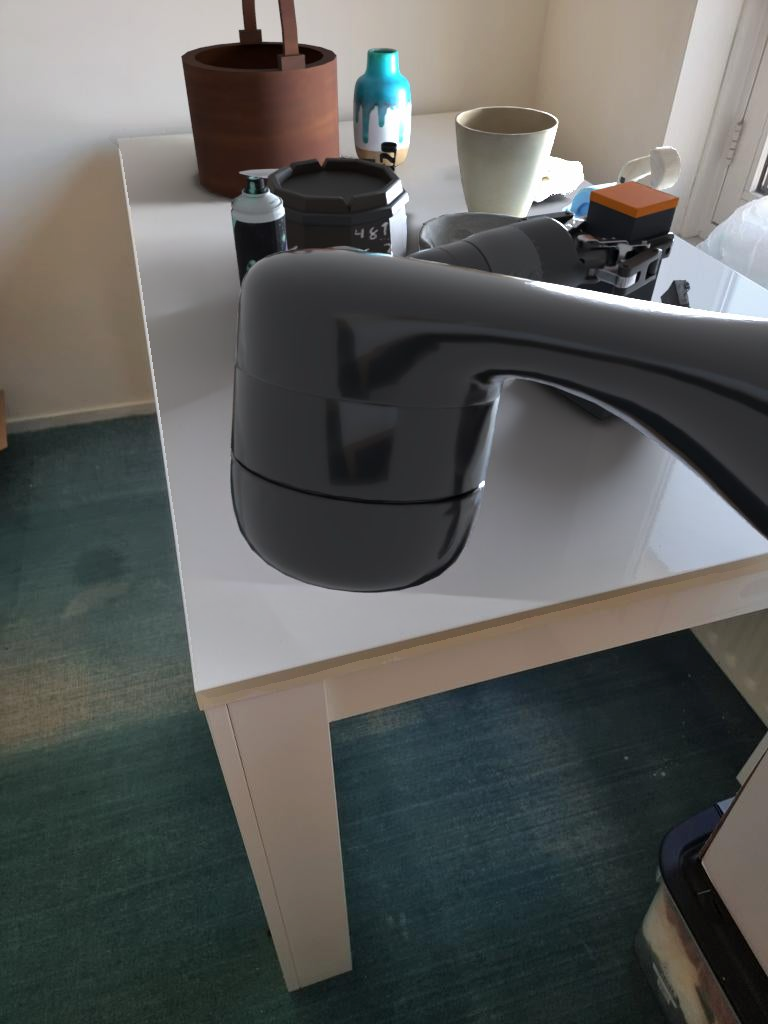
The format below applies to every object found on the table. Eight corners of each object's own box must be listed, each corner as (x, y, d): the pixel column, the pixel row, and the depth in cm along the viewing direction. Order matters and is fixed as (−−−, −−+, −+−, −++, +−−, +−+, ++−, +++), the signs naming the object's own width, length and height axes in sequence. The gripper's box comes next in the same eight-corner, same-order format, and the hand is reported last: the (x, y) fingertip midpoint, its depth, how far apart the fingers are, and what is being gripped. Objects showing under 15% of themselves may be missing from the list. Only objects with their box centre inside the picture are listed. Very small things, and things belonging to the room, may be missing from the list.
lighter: (687, 351, 94) (707, 330, 89) (672, 352, 93) (691, 331, 88) (674, 295, 96) (693, 272, 91) (659, 296, 96) (678, 273, 91)
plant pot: (469, 206, 125) (478, 101, 115) (554, 222, 120) (571, 114, 110) (432, 235, 115) (438, 123, 105) (522, 254, 110) (538, 138, 100)
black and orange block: (651, 303, 72) (679, 197, 66) (612, 317, 70) (637, 209, 63) (609, 282, 76) (632, 180, 69) (570, 295, 73) (590, 190, 67)
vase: (367, 179, 135) (367, 58, 123) (345, 162, 143) (342, 47, 130) (419, 172, 139) (423, 54, 126) (394, 156, 146) (397, 43, 133)
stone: (497, 167, 141) (500, 139, 138) (558, 166, 142) (562, 138, 139) (522, 205, 126) (526, 175, 123) (590, 204, 127) (596, 174, 123)
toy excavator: (617, 291, 101) (648, 157, 90) (543, 248, 112) (562, 124, 101) (664, 279, 104) (700, 148, 93) (587, 238, 115) (610, 117, 104)
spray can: (255, 370, 85) (233, 188, 71) (243, 348, 88) (221, 171, 75) (301, 361, 86) (288, 182, 73) (288, 340, 90) (273, 166, 77)
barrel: (303, 264, 107) (296, 147, 96) (421, 284, 102) (426, 163, 92) (242, 317, 94) (226, 189, 84) (373, 343, 89) (373, 211, 79)
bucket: (217, 208, 123) (181, -56, 100) (185, 163, 141) (149, -69, 118) (360, 189, 131) (358, -60, 108) (313, 149, 149) (302, -72, 126)
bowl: (548, 267, 107) (557, 211, 101) (547, 324, 94) (557, 262, 88) (424, 257, 109) (427, 202, 104) (407, 311, 96) (409, 251, 91)
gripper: (453, 284, 70) (581, 246, 77) (560, 347, 61) (694, 298, 68) (459, 202, 65) (596, 170, 72) (578, 258, 56) (720, 216, 63)
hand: (643, 233), depth 70 cm, fingers closed on black and orange block, 5 cm apart
